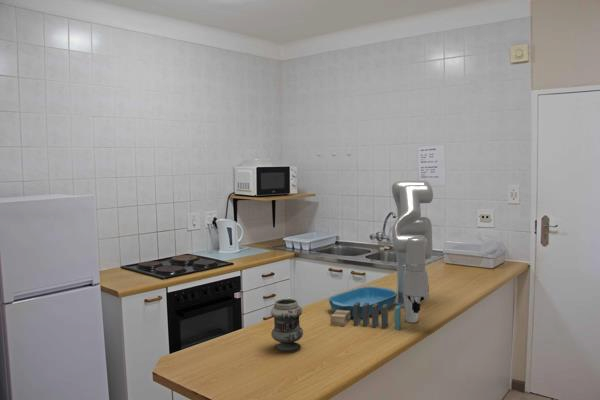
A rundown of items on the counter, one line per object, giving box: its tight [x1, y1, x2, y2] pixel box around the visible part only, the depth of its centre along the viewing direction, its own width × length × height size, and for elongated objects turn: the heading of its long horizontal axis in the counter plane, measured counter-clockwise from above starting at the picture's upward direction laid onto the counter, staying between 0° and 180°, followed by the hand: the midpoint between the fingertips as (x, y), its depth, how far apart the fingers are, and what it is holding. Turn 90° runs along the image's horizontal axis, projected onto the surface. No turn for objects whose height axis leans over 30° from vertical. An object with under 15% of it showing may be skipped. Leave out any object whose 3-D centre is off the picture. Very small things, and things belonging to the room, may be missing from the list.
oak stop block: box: [330, 310, 352, 327], centre depth 214 cm, size 10×6×4 cm, turn 158°
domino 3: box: [371, 303, 379, 329], centre depth 209 cm, size 2×5×9 cm, turn 158°
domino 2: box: [362, 303, 370, 328], centre depth 210 cm, size 2×5×9 cm, turn 158°
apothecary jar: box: [270, 298, 304, 354], centre depth 185 cm, size 12×12×18 cm
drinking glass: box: [404, 296, 419, 323], centre depth 214 cm, size 7×7×15 cm
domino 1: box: [353, 302, 361, 327], centre depth 212 cm, size 2×5×9 cm, turn 158°
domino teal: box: [394, 305, 402, 331], centre depth 205 cm, size 2×5×9 cm, turn 159°
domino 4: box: [380, 304, 389, 330], centre depth 207 cm, size 2×5×9 cm, turn 158°
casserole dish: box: [328, 286, 397, 319], centre depth 233 cm, size 37×22×7 cm, turn 134°
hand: (416, 312), depth 201 cm, fingers closed
